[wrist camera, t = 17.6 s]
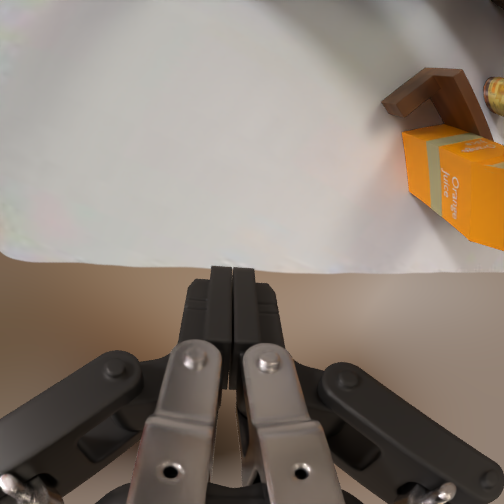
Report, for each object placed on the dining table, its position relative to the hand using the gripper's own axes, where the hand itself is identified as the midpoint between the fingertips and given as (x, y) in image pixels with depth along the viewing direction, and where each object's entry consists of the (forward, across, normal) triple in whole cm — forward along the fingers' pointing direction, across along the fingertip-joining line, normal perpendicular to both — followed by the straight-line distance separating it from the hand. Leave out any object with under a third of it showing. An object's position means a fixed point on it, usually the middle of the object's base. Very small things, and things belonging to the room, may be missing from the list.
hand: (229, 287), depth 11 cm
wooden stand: (+27, -28, -5) cm, 39 cm away
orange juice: (+27, -26, -3) cm, 38 cm away
